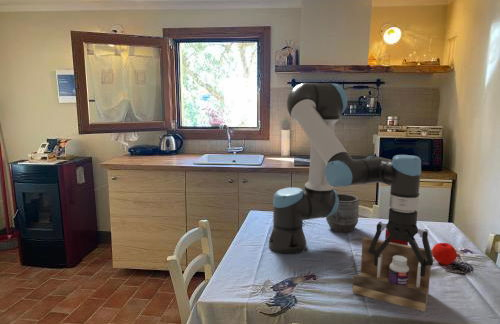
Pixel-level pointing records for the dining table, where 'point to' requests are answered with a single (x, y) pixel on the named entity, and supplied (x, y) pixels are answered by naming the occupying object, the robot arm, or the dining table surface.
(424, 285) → the cleat board
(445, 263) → the apple
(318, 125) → the robot arm
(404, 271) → the pill bottle
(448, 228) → the dining table surface
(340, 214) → the planter
